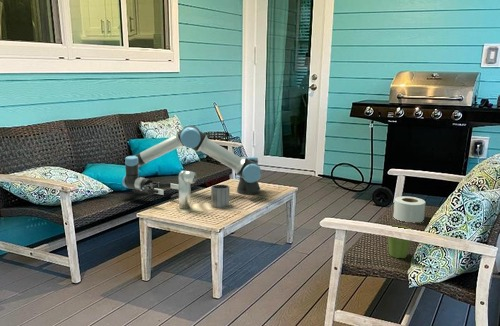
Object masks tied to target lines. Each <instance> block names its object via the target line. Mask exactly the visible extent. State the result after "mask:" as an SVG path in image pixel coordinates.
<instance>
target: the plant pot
mask: <svg viewBox="0 0 500 326" xmlns="http://www.w3.org/2000/svg"><path fill="white" fill-rule="evenodd" d="M391 226H392V227H398V228H404V229H411V230H413V229H412V228H409V227H407V226H404V225H403V226H402V225H391ZM411 242H412V240H411V241H407V240H402V239H397V238H392V237H388V236H387V244H388V245H387V246H388V254H389V256H390V257H393V258H395V259H406V258H407V257H408V253H409V249H410V246H411Z"/></svg>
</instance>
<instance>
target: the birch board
mask: <svg viewBox="0 0 500 326" xmlns="http://www.w3.org/2000/svg"><path fill="white" fill-rule="evenodd" d="M173 207H174V209H175V210H177V212H178V213H179V214H184V213H185V214H186V213H193V212H194V213H195V212H202V211H212V210H219V209H220V210H221V209H222V208H215V207H212V206H211V202H204V203H193V204H191V208H190V209H179V205H175V206H173ZM230 208H232V206H231V205H230V204H229V207H226V208H225V209H230Z"/></svg>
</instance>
